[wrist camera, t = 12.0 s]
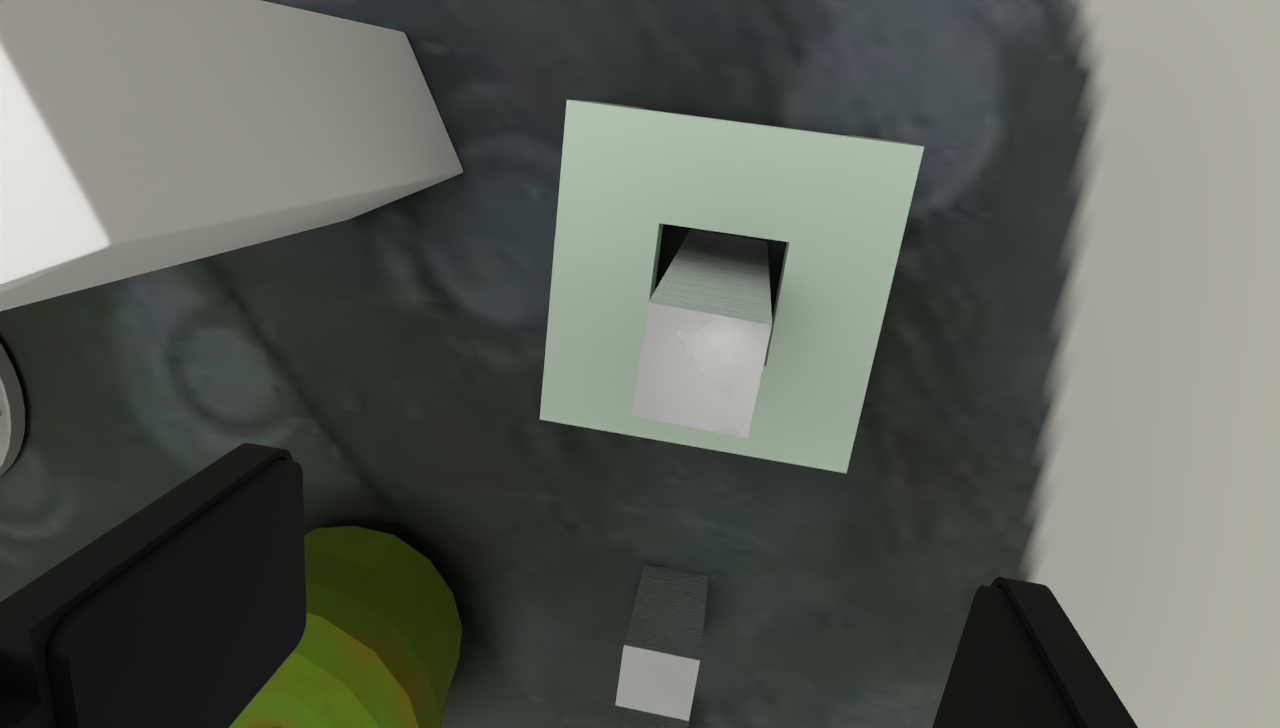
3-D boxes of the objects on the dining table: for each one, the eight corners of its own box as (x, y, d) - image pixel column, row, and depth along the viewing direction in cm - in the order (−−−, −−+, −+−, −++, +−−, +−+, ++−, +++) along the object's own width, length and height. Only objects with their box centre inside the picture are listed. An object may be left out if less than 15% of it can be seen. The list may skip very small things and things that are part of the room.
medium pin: (699, 630, 38) (688, 720, 32) (636, 617, 38) (615, 705, 33) (709, 576, 37) (699, 660, 31) (644, 563, 37) (623, 645, 32)
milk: (406, 31, 31) (-305, -144, 10) (467, 174, 32) (-48, 277, 12) (285, 88, 32) (-555, 36, 12) (348, 223, 34) (-298, 391, 13)
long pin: (752, 315, 32) (747, 438, 20) (678, 301, 33) (630, 415, 21) (767, 241, 31) (771, 324, 19) (691, 228, 32) (648, 302, 19)
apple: (228, 552, 41) (42, 707, 30) (395, 452, 37) (251, 587, 27) (369, 722, 43) (242, 921, 33) (539, 643, 40) (458, 837, 29)
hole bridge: (834, 422, 33) (846, 473, 29) (569, 377, 35) (539, 419, 30) (898, 141, 29) (924, 146, 25) (596, 101, 31) (566, 99, 26)
